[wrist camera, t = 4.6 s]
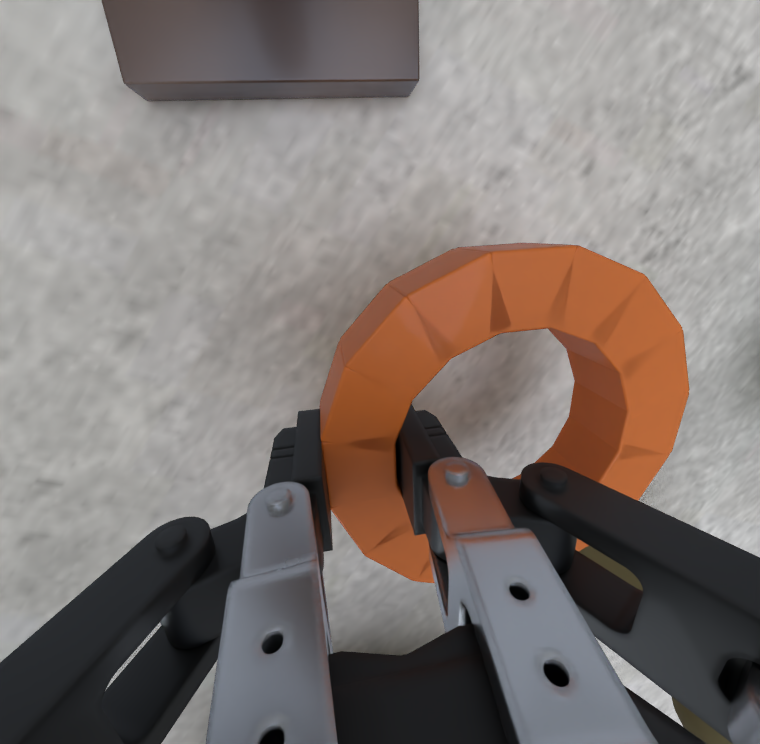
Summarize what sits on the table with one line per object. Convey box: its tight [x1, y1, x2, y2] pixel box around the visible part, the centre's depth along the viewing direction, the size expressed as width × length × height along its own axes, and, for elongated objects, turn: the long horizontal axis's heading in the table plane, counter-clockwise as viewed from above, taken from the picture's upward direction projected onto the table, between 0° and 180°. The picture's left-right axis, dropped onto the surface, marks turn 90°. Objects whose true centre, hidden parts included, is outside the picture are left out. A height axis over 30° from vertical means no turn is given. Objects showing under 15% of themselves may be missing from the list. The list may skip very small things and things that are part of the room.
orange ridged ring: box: [320, 243, 689, 583], centre depth 11 cm, size 11×11×2 cm
